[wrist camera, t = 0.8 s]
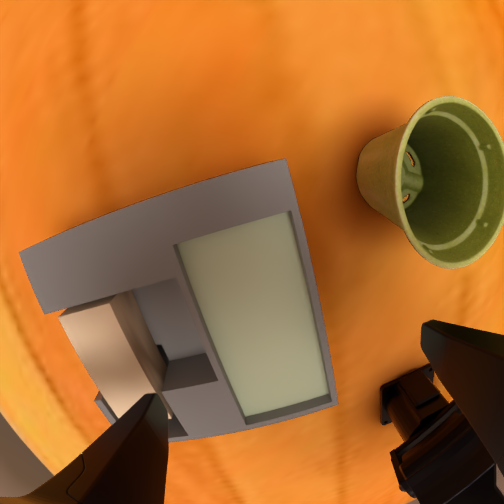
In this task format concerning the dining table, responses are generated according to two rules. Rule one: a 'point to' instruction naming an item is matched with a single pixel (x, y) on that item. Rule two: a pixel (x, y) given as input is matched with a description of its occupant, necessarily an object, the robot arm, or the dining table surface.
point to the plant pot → (439, 180)
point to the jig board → (208, 297)
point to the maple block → (116, 349)
